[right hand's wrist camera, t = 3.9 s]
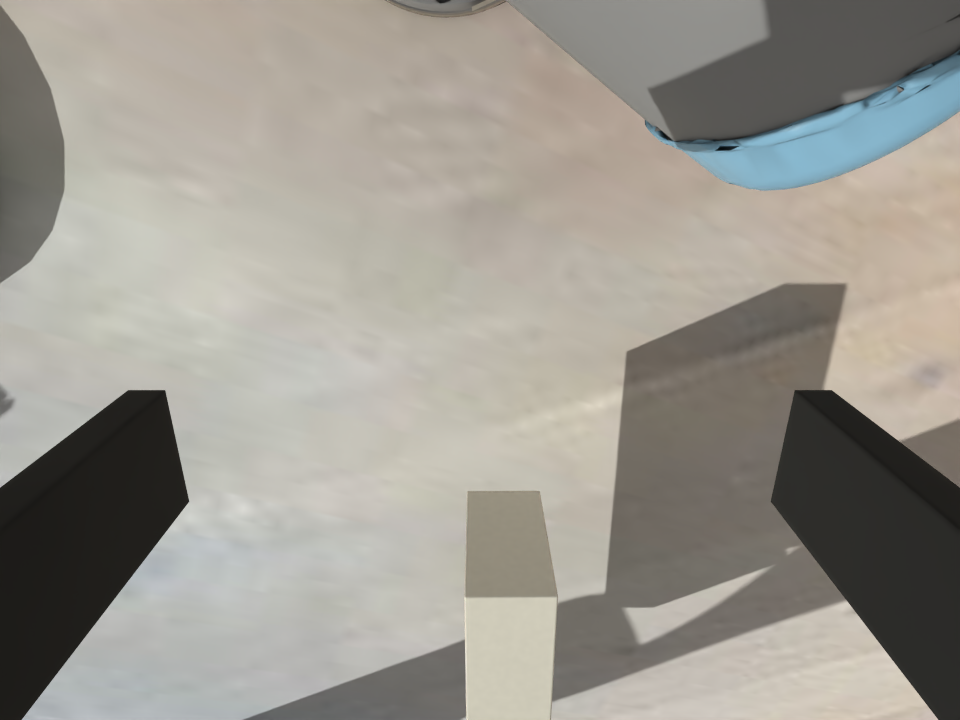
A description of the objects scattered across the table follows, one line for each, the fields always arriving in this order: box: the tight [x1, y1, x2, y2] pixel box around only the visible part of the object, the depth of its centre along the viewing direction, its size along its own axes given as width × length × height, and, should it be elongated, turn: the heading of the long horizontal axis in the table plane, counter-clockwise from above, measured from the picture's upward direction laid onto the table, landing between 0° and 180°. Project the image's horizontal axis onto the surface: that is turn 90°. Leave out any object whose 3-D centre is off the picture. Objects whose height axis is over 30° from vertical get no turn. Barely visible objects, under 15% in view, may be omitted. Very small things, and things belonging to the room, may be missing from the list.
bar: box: [464, 491, 558, 720], centre depth 37 cm, size 24×4×9 cm, turn 0°
